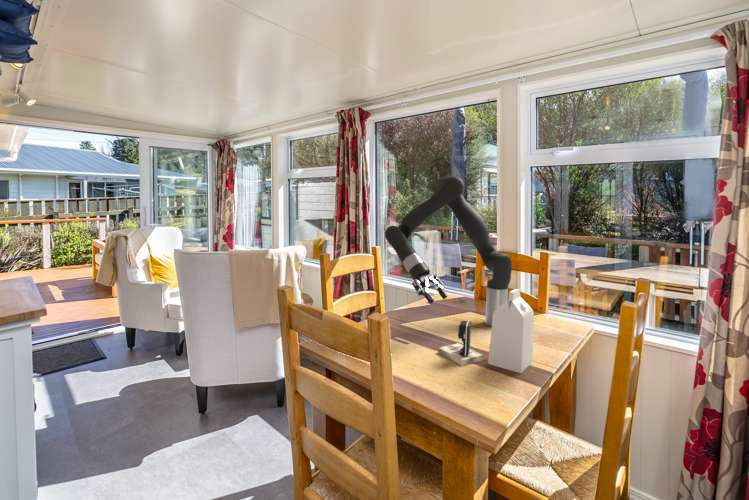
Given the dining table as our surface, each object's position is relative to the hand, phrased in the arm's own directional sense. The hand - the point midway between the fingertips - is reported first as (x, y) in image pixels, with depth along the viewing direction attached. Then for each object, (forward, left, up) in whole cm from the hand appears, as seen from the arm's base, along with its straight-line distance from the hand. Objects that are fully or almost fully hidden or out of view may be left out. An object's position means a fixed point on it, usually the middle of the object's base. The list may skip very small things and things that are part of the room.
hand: (439, 300), depth 149 cm
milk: (-13, +24, -19) cm, 33 cm away
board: (-1, +12, -18) cm, 22 cm away
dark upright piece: (-1, +14, -17) cm, 22 cm away
